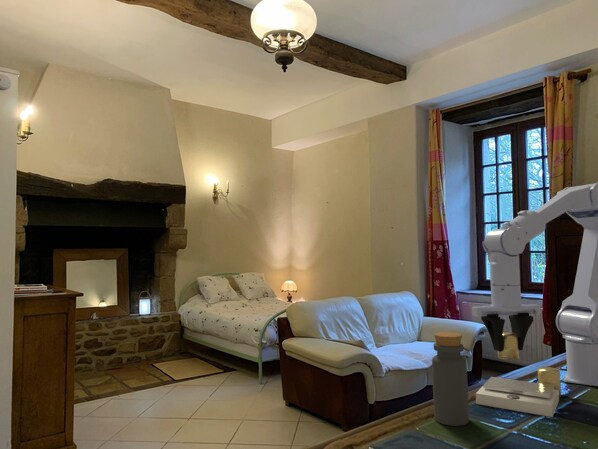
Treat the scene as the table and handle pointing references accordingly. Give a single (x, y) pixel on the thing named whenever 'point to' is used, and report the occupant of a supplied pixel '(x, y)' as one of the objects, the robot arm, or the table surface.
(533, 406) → the scale
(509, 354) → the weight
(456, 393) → the bottle
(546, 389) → the scale pan
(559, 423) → the table surface
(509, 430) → the table surface
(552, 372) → the cylinder
